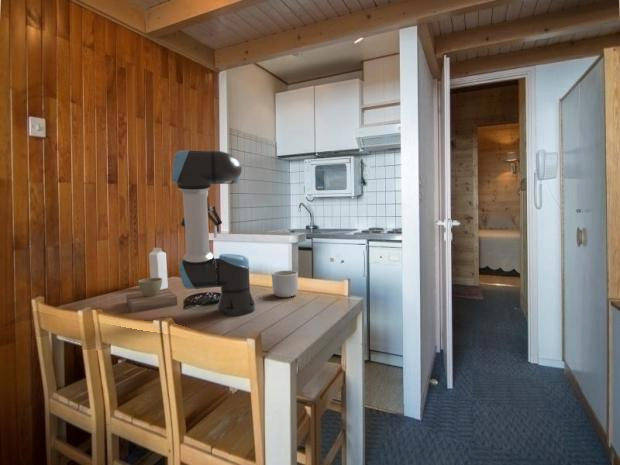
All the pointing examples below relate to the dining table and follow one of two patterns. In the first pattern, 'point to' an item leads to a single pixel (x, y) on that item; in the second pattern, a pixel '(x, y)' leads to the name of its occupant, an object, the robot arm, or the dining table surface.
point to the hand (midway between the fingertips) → (202, 239)
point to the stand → (151, 301)
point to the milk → (158, 266)
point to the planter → (285, 283)
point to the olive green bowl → (150, 286)
